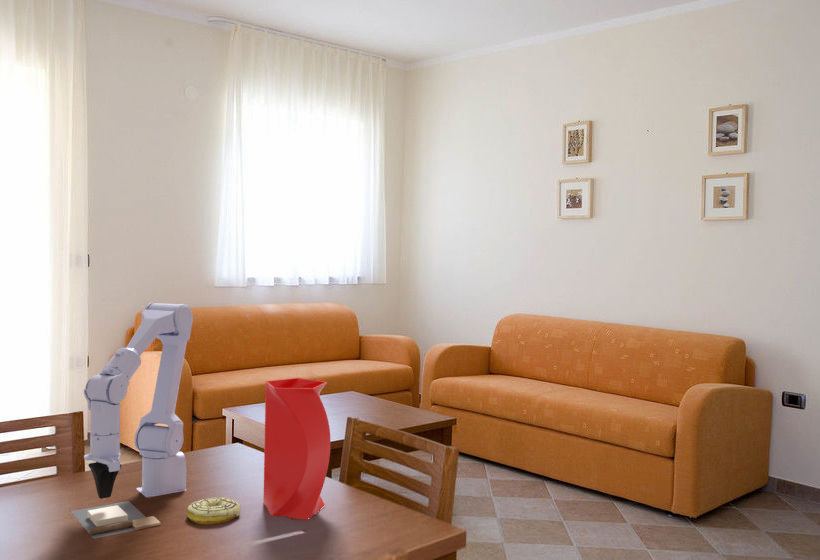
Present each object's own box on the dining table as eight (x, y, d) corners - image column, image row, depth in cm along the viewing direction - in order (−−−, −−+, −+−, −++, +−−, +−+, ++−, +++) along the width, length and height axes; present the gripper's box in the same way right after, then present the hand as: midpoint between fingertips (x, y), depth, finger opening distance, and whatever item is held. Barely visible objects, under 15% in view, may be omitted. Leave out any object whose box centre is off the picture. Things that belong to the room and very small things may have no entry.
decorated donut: (249, 520, 157) (250, 502, 157) (205, 533, 149) (205, 514, 149) (222, 507, 164) (222, 490, 164) (178, 519, 156) (178, 501, 156)
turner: (153, 518, 154) (153, 512, 154) (160, 524, 150) (160, 518, 150) (87, 532, 146) (87, 525, 146) (93, 539, 142) (93, 532, 142)
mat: (128, 503, 164) (128, 500, 164) (155, 528, 150) (155, 526, 150) (70, 514, 157) (70, 511, 157) (93, 541, 142) (93, 538, 142)
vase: (337, 510, 163) (340, 385, 162) (285, 527, 152) (288, 393, 151) (295, 494, 173) (297, 375, 172) (242, 508, 163) (245, 382, 162)
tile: (117, 505, 157) (127, 514, 151) (117, 512, 157) (127, 522, 151) (87, 510, 153) (96, 520, 148) (87, 517, 153) (96, 528, 148)
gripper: (75, 427, 157) (75, 490, 157) (94, 442, 145) (93, 511, 146) (110, 423, 161) (109, 485, 162) (131, 438, 150) (130, 504, 150)
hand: (104, 497), depth 154 cm, fingers closed
